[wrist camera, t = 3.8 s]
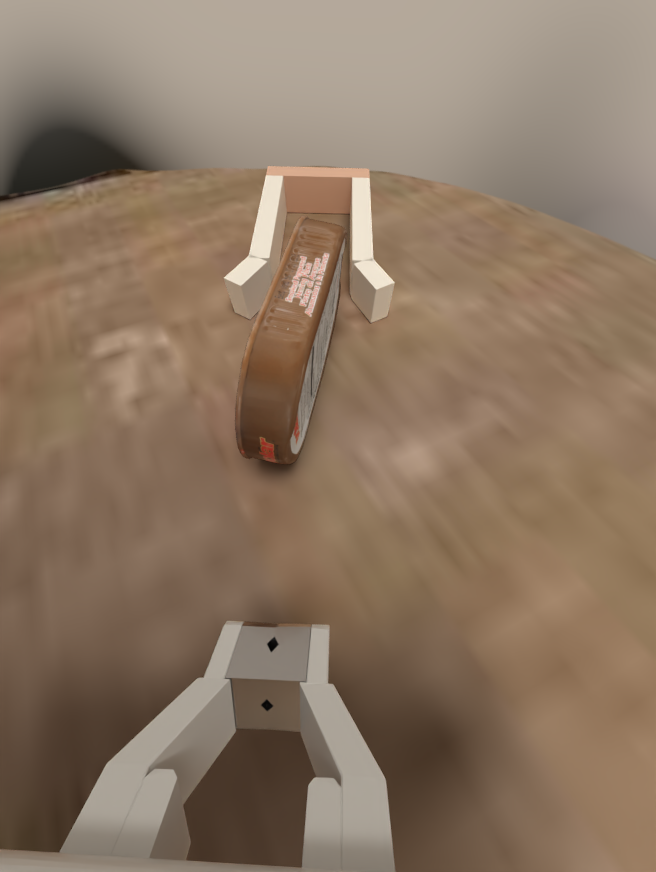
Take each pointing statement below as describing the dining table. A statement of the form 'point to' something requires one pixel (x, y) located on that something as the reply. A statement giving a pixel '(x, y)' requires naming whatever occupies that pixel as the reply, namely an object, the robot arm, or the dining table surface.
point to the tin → (290, 344)
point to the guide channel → (312, 195)
